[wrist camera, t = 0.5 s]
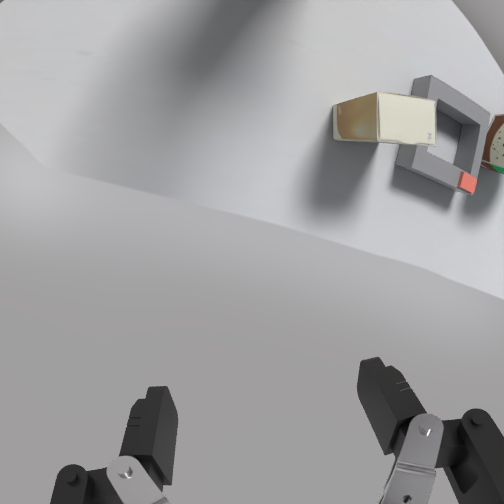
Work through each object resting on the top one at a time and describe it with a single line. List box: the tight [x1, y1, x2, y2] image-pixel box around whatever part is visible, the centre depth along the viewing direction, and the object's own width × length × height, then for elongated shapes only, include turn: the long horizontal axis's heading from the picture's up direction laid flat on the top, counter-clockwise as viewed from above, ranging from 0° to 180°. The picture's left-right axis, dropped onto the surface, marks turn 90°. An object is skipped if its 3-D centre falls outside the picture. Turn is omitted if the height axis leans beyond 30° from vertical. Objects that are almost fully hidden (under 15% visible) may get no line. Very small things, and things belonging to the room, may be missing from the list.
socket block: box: [395, 75, 490, 196], centre depth 32 cm, size 12×11×5 cm
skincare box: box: [333, 92, 436, 147], centre depth 28 cm, size 6×4×12 cm
